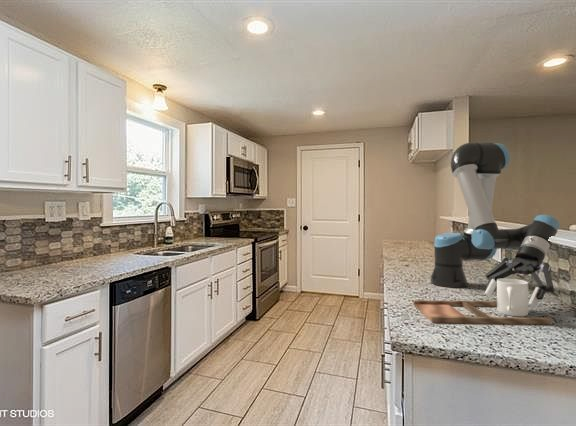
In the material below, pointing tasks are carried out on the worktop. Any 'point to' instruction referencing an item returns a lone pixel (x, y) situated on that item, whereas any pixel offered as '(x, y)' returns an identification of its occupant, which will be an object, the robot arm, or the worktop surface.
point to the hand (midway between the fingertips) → (507, 301)
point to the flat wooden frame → (448, 314)
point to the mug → (512, 297)
